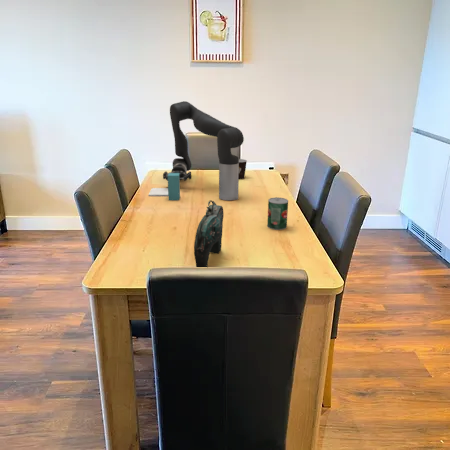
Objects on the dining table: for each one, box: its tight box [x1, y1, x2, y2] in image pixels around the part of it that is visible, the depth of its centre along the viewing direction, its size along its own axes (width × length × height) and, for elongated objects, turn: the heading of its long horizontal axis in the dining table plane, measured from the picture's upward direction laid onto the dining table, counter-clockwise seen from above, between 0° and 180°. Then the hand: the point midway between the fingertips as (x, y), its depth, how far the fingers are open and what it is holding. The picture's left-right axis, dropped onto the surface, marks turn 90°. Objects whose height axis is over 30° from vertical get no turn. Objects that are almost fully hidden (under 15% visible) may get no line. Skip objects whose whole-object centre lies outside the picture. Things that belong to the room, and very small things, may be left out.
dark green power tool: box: [193, 199, 225, 268], centre depth 146 cm, size 20×6×20 cm, turn 163°
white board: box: [148, 187, 168, 197], centre depth 223 cm, size 12×12×1 cm
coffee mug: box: [238, 158, 248, 180], centre depth 252 cm, size 12×9×10 cm
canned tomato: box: [266, 196, 289, 231], centre depth 177 cm, size 8×8×11 cm
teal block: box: [167, 172, 181, 201], centre depth 212 cm, size 5×5×12 cm
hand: (176, 178), depth 221 cm, fingers open, 8 cm apart
